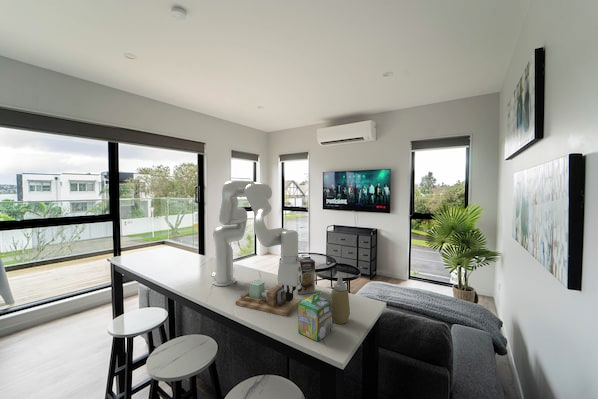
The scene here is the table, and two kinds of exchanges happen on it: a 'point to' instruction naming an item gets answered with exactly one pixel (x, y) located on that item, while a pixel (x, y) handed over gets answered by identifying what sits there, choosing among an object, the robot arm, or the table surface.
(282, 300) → the grey rectangular box
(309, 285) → the coffee box
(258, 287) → the spacer block
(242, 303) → the jig
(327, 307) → the chalk box
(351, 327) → the table surface
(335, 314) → the squeeze bottle
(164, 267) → the table surface
